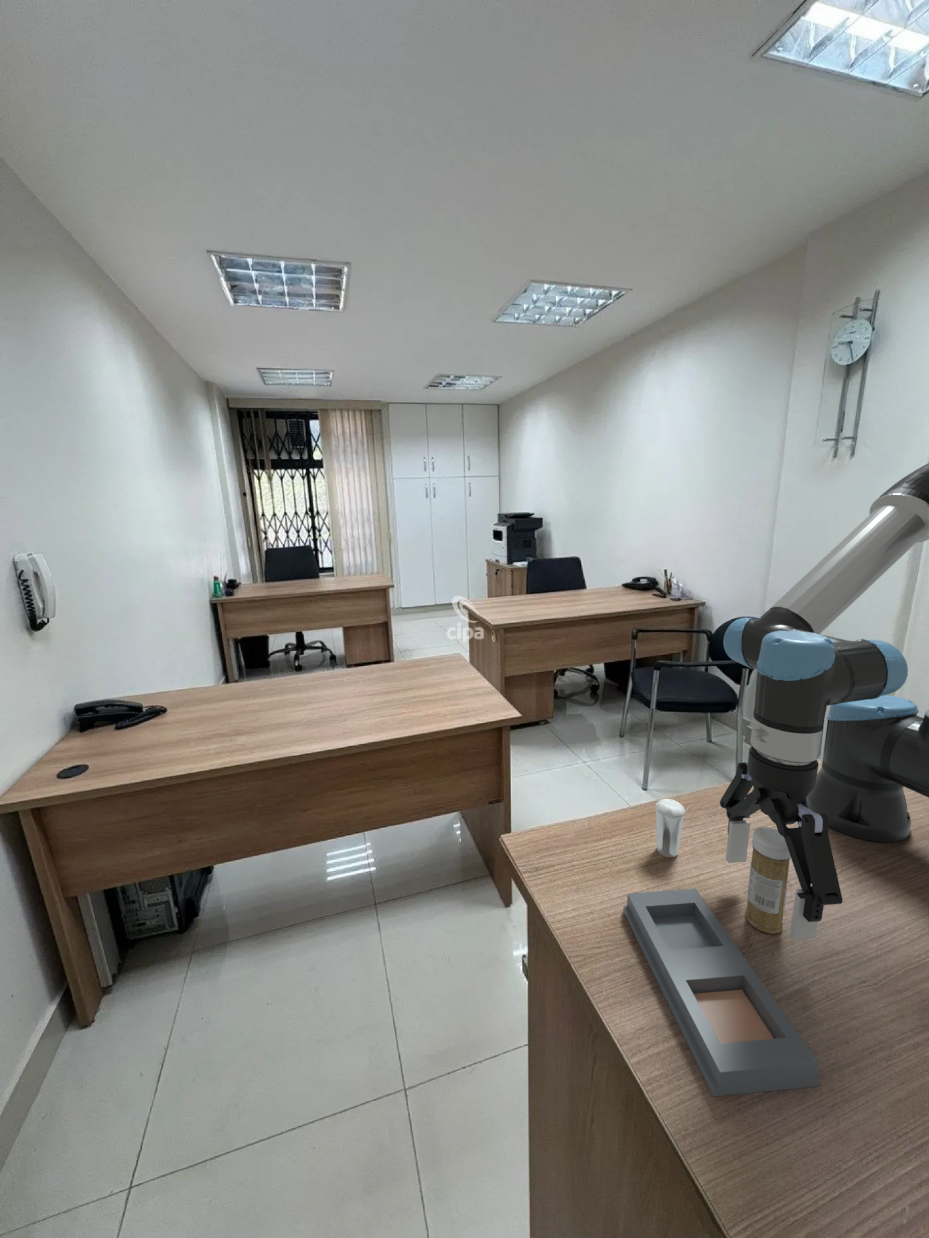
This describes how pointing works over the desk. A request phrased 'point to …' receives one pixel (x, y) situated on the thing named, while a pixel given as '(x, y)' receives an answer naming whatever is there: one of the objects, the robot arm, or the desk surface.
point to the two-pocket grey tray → (718, 997)
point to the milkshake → (669, 826)
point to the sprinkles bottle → (767, 880)
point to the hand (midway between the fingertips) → (765, 894)
